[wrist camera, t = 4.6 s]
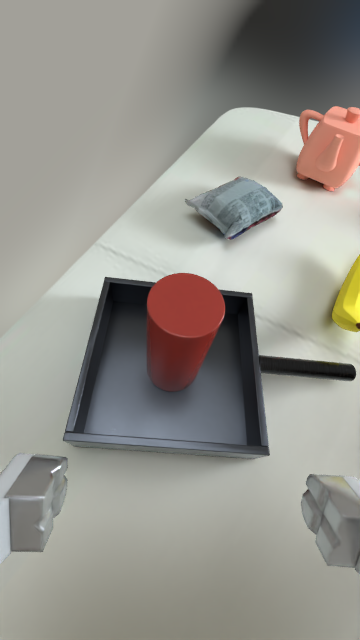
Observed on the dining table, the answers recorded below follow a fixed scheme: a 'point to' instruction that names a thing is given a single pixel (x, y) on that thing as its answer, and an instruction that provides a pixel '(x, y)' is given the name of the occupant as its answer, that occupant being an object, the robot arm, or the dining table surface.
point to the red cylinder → (181, 328)
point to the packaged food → (236, 206)
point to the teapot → (330, 146)
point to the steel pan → (180, 406)
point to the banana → (349, 301)
